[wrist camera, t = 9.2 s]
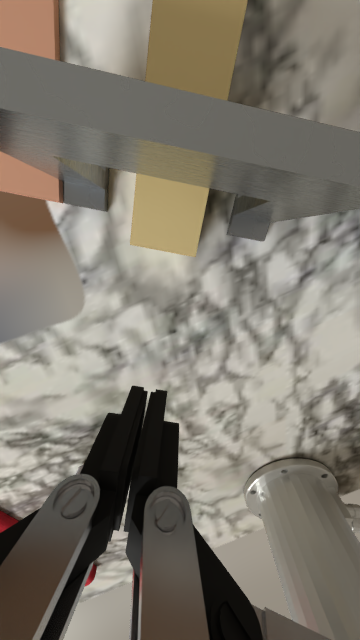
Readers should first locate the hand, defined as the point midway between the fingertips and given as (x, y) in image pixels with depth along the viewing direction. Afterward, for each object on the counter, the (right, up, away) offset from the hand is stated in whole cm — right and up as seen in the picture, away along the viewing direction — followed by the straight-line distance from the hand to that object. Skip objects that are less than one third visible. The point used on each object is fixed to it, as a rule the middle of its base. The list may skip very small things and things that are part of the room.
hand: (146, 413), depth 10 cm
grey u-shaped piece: (+1, +14, +7) cm, 16 cm away
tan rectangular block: (+2, +16, +6) cm, 18 cm away
